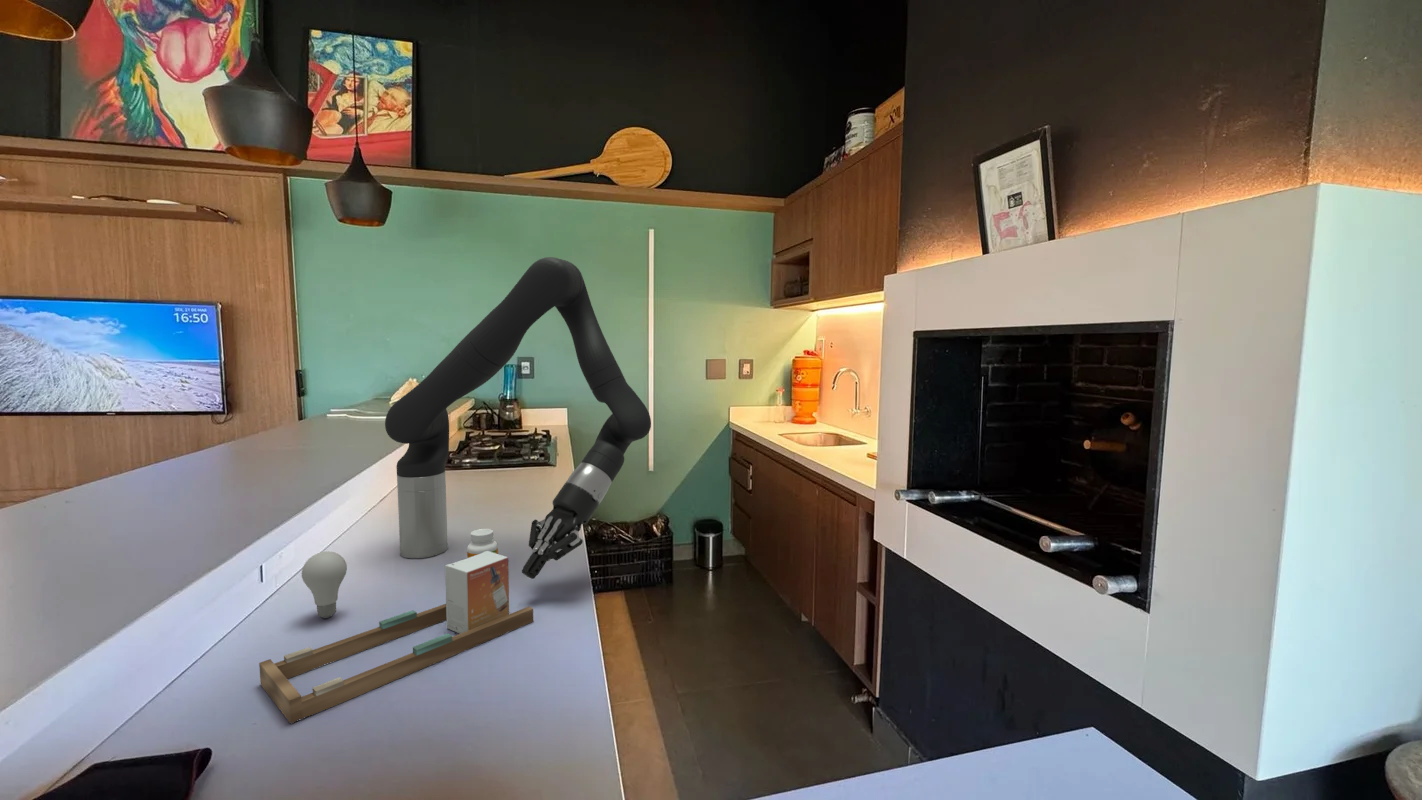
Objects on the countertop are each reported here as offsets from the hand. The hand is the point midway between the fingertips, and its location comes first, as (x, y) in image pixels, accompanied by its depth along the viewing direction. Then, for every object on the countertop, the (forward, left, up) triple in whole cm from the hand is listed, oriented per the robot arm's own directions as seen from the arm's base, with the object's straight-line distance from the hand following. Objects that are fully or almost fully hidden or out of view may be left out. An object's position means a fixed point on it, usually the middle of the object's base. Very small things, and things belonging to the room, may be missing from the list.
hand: (527, 575), depth 100 cm
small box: (0, -9, -5) cm, 10 cm away
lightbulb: (-21, -24, -5) cm, 32 cm away
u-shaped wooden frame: (0, -19, -5) cm, 20 cm away
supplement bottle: (-15, 0, -5) cm, 16 cm away
